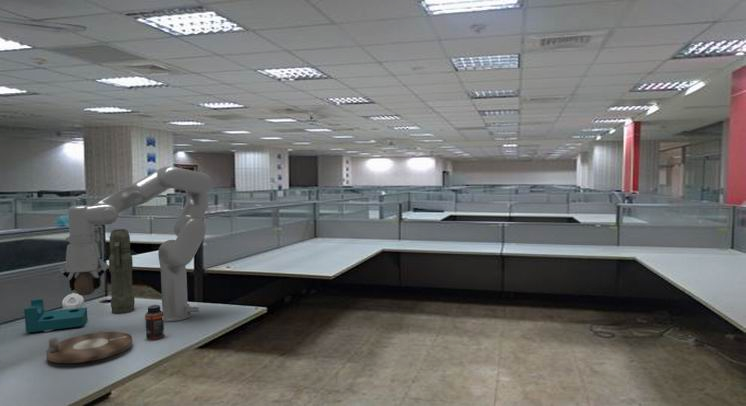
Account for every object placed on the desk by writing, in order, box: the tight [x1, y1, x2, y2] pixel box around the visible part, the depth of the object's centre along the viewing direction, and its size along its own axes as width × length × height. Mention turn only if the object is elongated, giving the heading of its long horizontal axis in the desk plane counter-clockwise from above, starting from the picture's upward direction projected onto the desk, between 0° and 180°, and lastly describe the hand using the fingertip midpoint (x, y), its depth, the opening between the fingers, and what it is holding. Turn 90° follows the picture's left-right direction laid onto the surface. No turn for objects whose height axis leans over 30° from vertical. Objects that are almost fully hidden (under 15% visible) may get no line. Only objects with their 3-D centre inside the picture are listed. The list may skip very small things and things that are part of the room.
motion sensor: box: [61, 292, 85, 310], centre depth 204 cm, size 8×8×8 cm
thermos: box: [108, 228, 135, 315], centre depth 202 cm, size 9×12×35 cm
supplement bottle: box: [144, 304, 165, 341], centre depth 169 cm, size 6×6×11 cm
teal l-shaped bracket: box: [23, 298, 88, 334], centre depth 182 cm, size 18×11×10 cm, turn 113°
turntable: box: [45, 331, 133, 364], centre depth 155 cm, size 24×24×6 cm
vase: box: [74, 272, 96, 296], centre depth 171 cm, size 7×7×9 cm
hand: (85, 288), depth 171 cm, fingers closed on vase, 6 cm apart
